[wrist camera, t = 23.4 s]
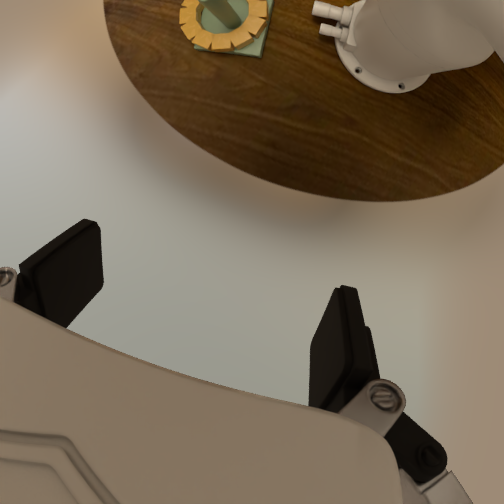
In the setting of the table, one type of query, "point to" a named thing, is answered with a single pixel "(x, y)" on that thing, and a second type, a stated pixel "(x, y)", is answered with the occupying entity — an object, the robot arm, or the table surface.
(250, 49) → the peg stand
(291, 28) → the table surface
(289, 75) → the table surface
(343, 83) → the table surface
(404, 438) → the robot arm
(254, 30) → the brass ring
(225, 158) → the table surface
